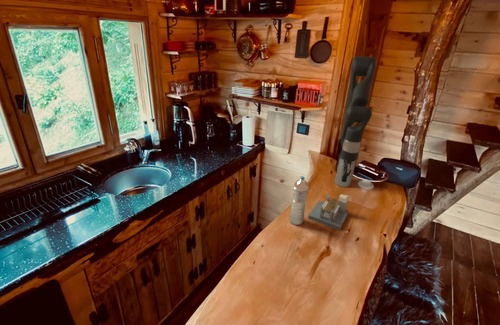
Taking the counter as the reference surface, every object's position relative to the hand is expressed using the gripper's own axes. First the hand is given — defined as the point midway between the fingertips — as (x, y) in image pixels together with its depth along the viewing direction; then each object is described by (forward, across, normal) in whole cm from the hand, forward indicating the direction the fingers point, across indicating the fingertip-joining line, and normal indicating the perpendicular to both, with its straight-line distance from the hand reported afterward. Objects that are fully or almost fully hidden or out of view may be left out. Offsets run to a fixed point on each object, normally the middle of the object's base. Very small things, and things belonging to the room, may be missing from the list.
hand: (343, 181), depth 135 cm
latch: (+11, 0, +2) cm, 11 cm away
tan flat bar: (+13, +4, -4) cm, 14 cm away
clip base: (+19, +4, -4) cm, 20 cm away
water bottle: (+19, +13, -20) cm, 31 cm away
